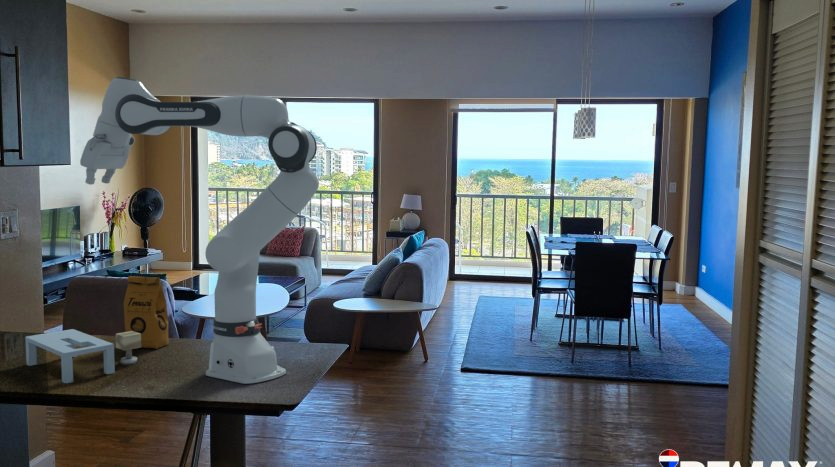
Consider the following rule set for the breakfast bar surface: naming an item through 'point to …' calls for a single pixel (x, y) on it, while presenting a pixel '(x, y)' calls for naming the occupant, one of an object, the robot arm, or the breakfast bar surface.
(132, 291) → the coffee package
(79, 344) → the keyhole stand
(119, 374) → the breakfast bar surface
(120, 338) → the peg
